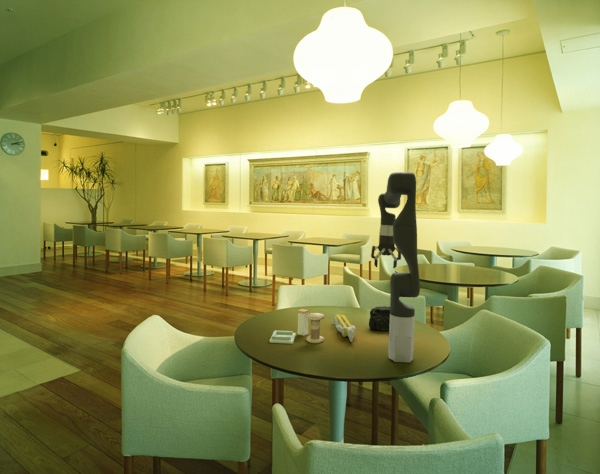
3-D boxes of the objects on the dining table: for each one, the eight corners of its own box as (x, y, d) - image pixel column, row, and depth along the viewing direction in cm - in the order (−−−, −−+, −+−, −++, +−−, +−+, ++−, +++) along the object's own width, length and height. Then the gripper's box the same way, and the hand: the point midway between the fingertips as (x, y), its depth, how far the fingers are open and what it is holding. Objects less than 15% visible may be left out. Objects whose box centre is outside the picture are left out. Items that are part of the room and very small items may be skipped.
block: (308, 333, 190) (308, 310, 190) (304, 335, 187) (304, 311, 187) (301, 332, 192) (302, 308, 192) (297, 334, 189) (297, 310, 188)
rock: (370, 323, 211) (368, 330, 197) (371, 304, 211) (368, 310, 196) (406, 325, 207) (406, 333, 193) (407, 306, 207) (407, 313, 192)
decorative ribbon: (347, 314, 208) (361, 331, 178) (345, 325, 208) (358, 345, 178) (331, 312, 207) (343, 328, 177) (329, 323, 208) (341, 342, 178)
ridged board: (292, 343, 176) (293, 338, 176) (269, 342, 177) (269, 337, 177) (295, 335, 188) (295, 330, 188) (273, 334, 189) (273, 329, 189)
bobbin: (323, 343, 177) (324, 318, 176) (305, 342, 178) (306, 317, 177) (324, 337, 185) (324, 313, 184) (306, 337, 185) (307, 312, 185)
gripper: (372, 234, 201) (370, 267, 201) (403, 235, 199) (401, 269, 200) (372, 233, 208) (370, 265, 209) (401, 235, 206) (399, 267, 207)
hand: (385, 267), depth 204 cm, fingers open, 8 cm apart
